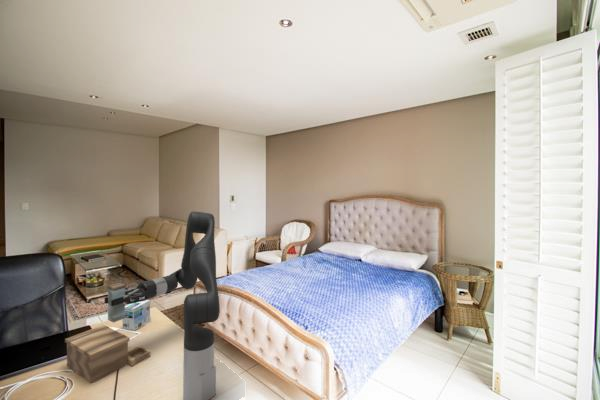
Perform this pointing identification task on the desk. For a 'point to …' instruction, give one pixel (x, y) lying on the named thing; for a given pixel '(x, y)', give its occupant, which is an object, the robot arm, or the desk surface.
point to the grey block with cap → (119, 310)
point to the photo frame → (127, 331)
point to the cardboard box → (101, 353)
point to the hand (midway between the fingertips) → (108, 302)
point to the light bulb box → (136, 315)
